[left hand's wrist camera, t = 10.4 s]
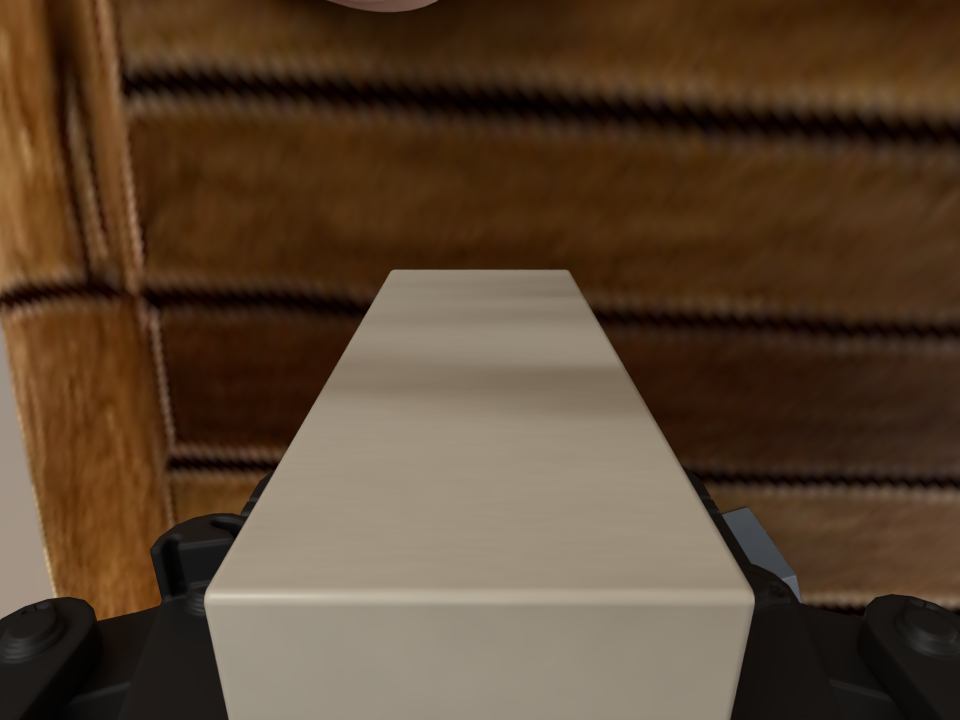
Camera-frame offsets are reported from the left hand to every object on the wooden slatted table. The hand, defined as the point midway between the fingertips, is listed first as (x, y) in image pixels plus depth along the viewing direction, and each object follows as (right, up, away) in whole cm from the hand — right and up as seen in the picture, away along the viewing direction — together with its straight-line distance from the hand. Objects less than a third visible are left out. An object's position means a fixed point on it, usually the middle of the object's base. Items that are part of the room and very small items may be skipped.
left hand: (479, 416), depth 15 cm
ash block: (0, -8, +3) cm, 9 cm away
